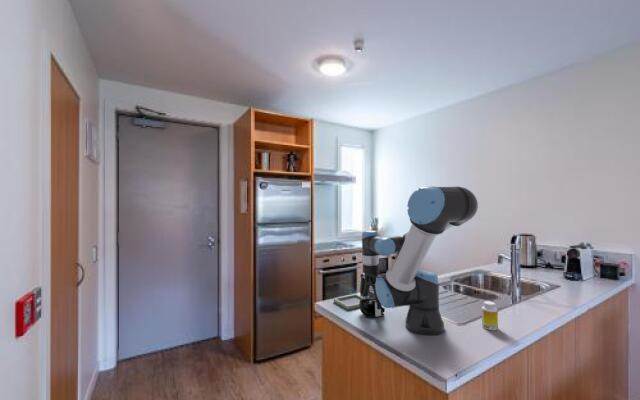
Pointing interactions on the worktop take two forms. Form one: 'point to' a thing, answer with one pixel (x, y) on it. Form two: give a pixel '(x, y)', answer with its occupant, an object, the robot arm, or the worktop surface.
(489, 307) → the supplement bottle
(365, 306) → the black ridged block
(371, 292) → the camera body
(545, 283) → the worktop surface
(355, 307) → the grey square frame
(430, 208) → the robot arm
